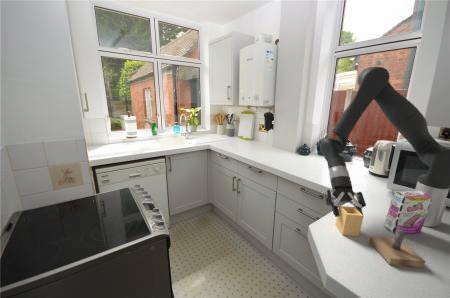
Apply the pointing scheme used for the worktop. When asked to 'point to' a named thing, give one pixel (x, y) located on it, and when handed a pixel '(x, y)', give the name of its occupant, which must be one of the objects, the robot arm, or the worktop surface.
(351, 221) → the sleeve
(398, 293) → the worktop surface
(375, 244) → the post stand
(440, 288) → the worktop surface
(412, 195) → the candy bar box
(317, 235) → the worktop surface
